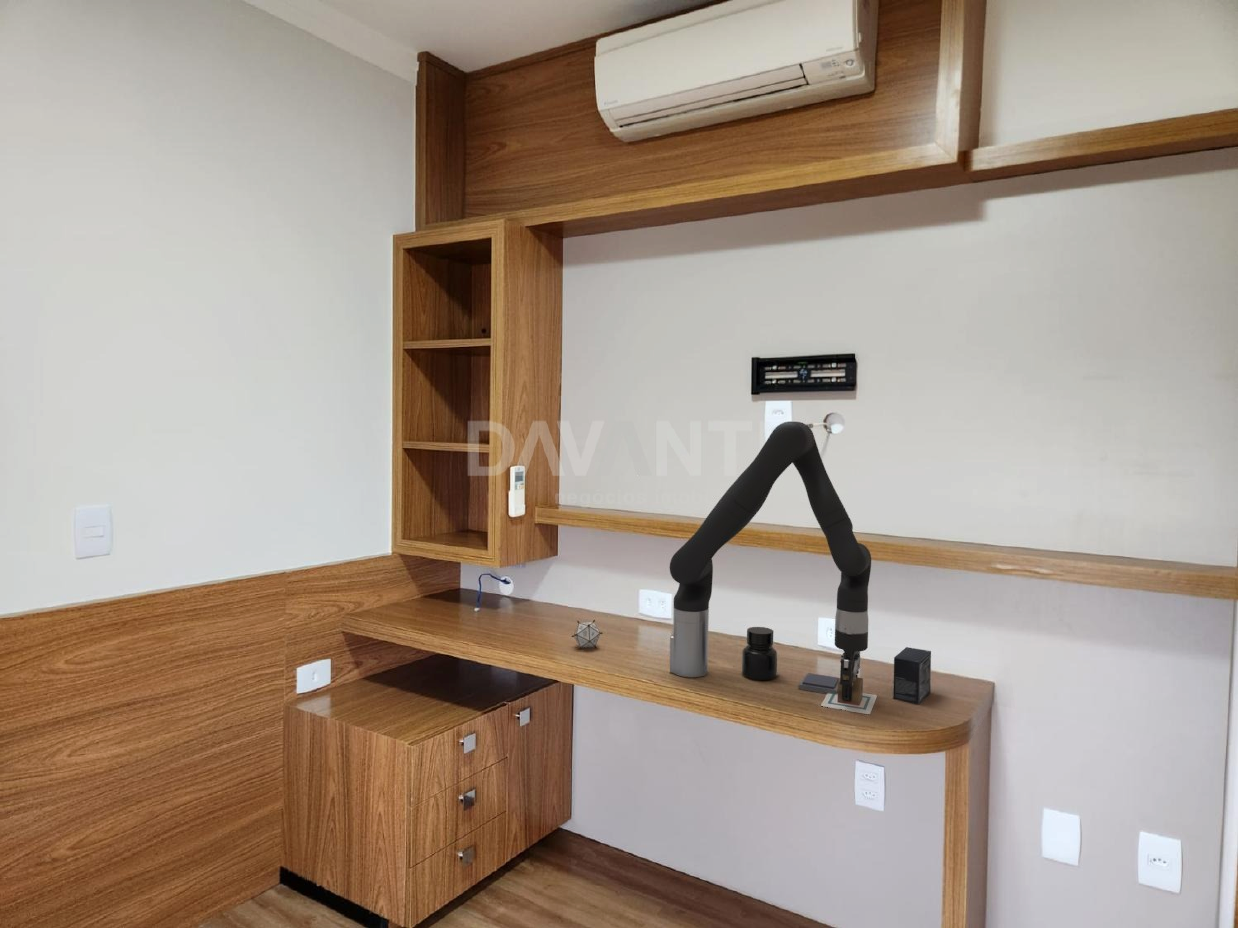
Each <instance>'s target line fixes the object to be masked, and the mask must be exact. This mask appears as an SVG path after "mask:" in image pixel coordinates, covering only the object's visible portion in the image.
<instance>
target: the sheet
mask: <svg viewBox="0 0 1238 928" xmlns="http://www.w3.org/2000/svg"><path fill="white" fill-rule="evenodd" d="M877 696H878V695H876V694H872V693H871V694H869V693H866V692H865V693H864V692H863V696H862V701H861V703H860V706H858V705H852V704H846V703H840V702H837V700H838V692H837V694H830V693H828V694H825V697H824V699H823V701H822V702H821V705H820V707H821V706H823V707H822V708H827V707H828V709H834V710H839V709H842V710H841V711H845V710H846V712H852V713H857V714H862V715H864V714H865V715H868V714H869V715H868V716H870V715H871V714H872V710H873V708H874V706H875V705H874V704H875V702H876V700H877Z"/></svg>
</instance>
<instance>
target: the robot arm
mask: <svg viewBox="0 0 1238 928" xmlns="http://www.w3.org/2000/svg"><path fill="white" fill-rule="evenodd" d="M813 432H814V431H812V429H811V428H810V426H809V425H807V424H806V423H804V422H801V421H785V422H782V423H780V424H778V425H777V426H776V427H775V428H774V429H773V430H772V431H771V433H770V434H769V437H768V438H767V440H766V441H765V443H764V444H763V446H762V447H761V449H760V450H759V452H758V453H757V455H756V457H755V458H754V459H753V460H752V461H751V463H750V464H749V465H748V466H747V467H746V468H745V470H743V472H742V473H741V474H740V475H739V476H738V477H737V479H736V480H735V481H734V482H733V483H732V484H731V485H730V486H729V488H728V489H727V490H726V491H725V493H724V494H723V495H722V497H720V499H719V500H718V502H717V503H716V504H715V506H714V507H713V508H712V509H711V511H710V512H709V514H708V515H707V517H706V518H704V520H703V522H702V523H701V525H700V527H699V528H698V529H697V530H696V532H694V534H693V535H692V536H691V537H690V538H689V539H688V540H687V541H686V542H685V543H684V544H683V545H682V546H680V548H678V550H677V551H676V552H674V554H673V556H672V557H671V559H670V562H669V572H670V575H671V577H672V579H673V580H674V581H675V582H677V583H678V589H677V591H676V593H675V594H674V597H673V618H672V620H673V621H672V623H673V625H672V626H673V628H672V629H673V630H672V631H673V634H672V635H671V636H670V640H669V641H670V642H669V673H673V674H675V675H677V676H680V677H685V678H700V677H704V676H706V675H707V674H708V671H709V670H708V666H709V659H708V658H709V624H710V623H709V621H710V620H709V619H710V617H709V616H710V614H709V611H710V610H709V609H710V600H711V597H712V593H713V592H712V591H713V578H714V577H713V576H714V575H713V574H714V573H713V571H714V569H713V568H714V565H713V558H714V556H715V555H716V553H717V552H718V551H720V549H722V547H724V546H725V545H726V544H727V543H728V542H730V541H731V540H732V539H733V538H734V537H735V536H737V535H738V534H739V533H740V532H741V531H742V530H743V529H744V528H745V527H746V526H747V525H749V523H750V522H751V521H752V520H753V518H754V517H755V516H756V515H757V513H758V512H759V511H760V510H761V508H762V507H763V505H764V503H765V502H766V500H767V499H768V496H769V494H770V492H771V490H772V488H773V486H774V484H775V482H776V481H777V479H778V478H779V477H780V476H781V475H782V474H783V473H784V472H785V471H786V470H787V469H788V467H790V465H791V464H792V465H794V467H795V468H796V471H797V472H798V474H799V477H800V478H801V481H802V483H803V485H804V489H805V492H806V494H807V495H806V496H807V497H808V498H807V499H808V502H809V505H810V508H811V510H812V512H813V515H814V517H815V519H816V521H817V523H818V525H819V527H820V529H821V531H822V533H823V534H824V536H825V539H826V541H827V545H828V549H829V551H830V555H831V558H832V559H833V562H834V565H835V566H836V568H837V569H838V570H839V571H840V572H841V573H840V574H841V575H840V582H839V585H838V587H837V593H836V611H835V618H834V646H835V647H836V648H837V649H839V650H842V651H843V652H842V655H840V661H839V662H840V672H839V673H840V674H839V675H840V676H839V679H840V685H842V700H843V701H847V702H851V701H852V685H853V678H854V677H858V675H859V673H860V668H861V652H864V651H867V649H868V648H869V647H868V646H869V645H868V644H869V614H868V613H869V612H868V611H869V610H868V608H869V582H870V577H871V570H872V555H871V552H870V550H869V548H868V547H867V546H866V545H864V544H863V543H860V542H858V539H856V536H855V534H854V530H853V529H854V528H853V527H854V526H853V523H852V520H851V518H850V517H849V514H848V512H847V510H846V508H845V506H844V504H843V502H842V500H841V499H840V497H839V495H838V493H837V491H836V489H835V487H834V485H833V483H832V481H831V479H830V476H829V474H828V472H827V470H826V467H825V465H824V462H823V460H822V457H821V454H820V451H819V447H818V444H817V442H816V438H815V435H814V433H813ZM845 676H849V680H844V679H845ZM858 678H859V677H858Z"/></svg>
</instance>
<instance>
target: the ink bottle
mask: <svg viewBox="0 0 1238 928" xmlns="http://www.w3.org/2000/svg"><path fill="white" fill-rule="evenodd" d="M746 644H747V645H746V646H744V647H743V650H742V655H741V656H742V657H741V658H742V660H741V666H742V667H741V674H742V675H743V676H744V677H745V678H747V679H751V680H754V681H769V680H772V679H775V678H776V677H777V674H778V652H777V649H775V648H774V647H773V646H774V630H773V629H772V628H769V627H763V626H752V627H748V628H747V630H746Z"/></svg>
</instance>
